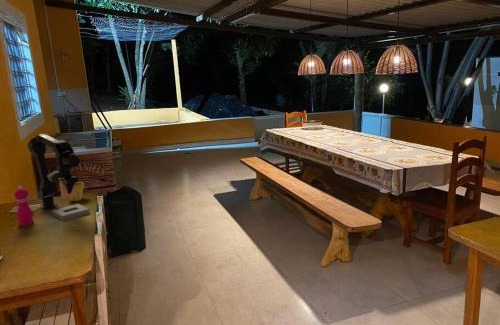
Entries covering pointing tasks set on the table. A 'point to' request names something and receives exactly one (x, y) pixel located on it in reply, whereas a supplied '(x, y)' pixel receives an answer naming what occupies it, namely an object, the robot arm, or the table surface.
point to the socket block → (70, 212)
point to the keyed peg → (64, 191)
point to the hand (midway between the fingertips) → (68, 193)
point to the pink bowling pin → (23, 207)
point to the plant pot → (78, 191)
